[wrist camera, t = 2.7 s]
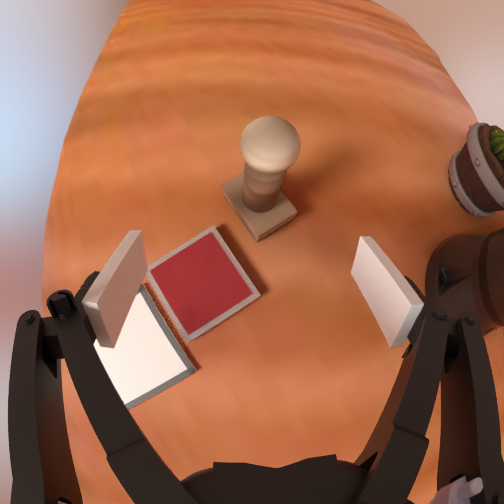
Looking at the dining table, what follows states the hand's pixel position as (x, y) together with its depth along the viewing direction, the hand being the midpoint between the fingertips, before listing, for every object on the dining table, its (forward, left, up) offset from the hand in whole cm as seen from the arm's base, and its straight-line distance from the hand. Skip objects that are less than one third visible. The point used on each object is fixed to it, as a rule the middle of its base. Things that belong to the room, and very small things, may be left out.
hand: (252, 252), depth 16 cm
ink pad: (+3, +4, -14) cm, 15 cm away
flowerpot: (-8, -40, -14) cm, 43 cm away
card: (0, +15, -14) cm, 20 cm away
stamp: (+6, -6, -14) cm, 17 cm away
